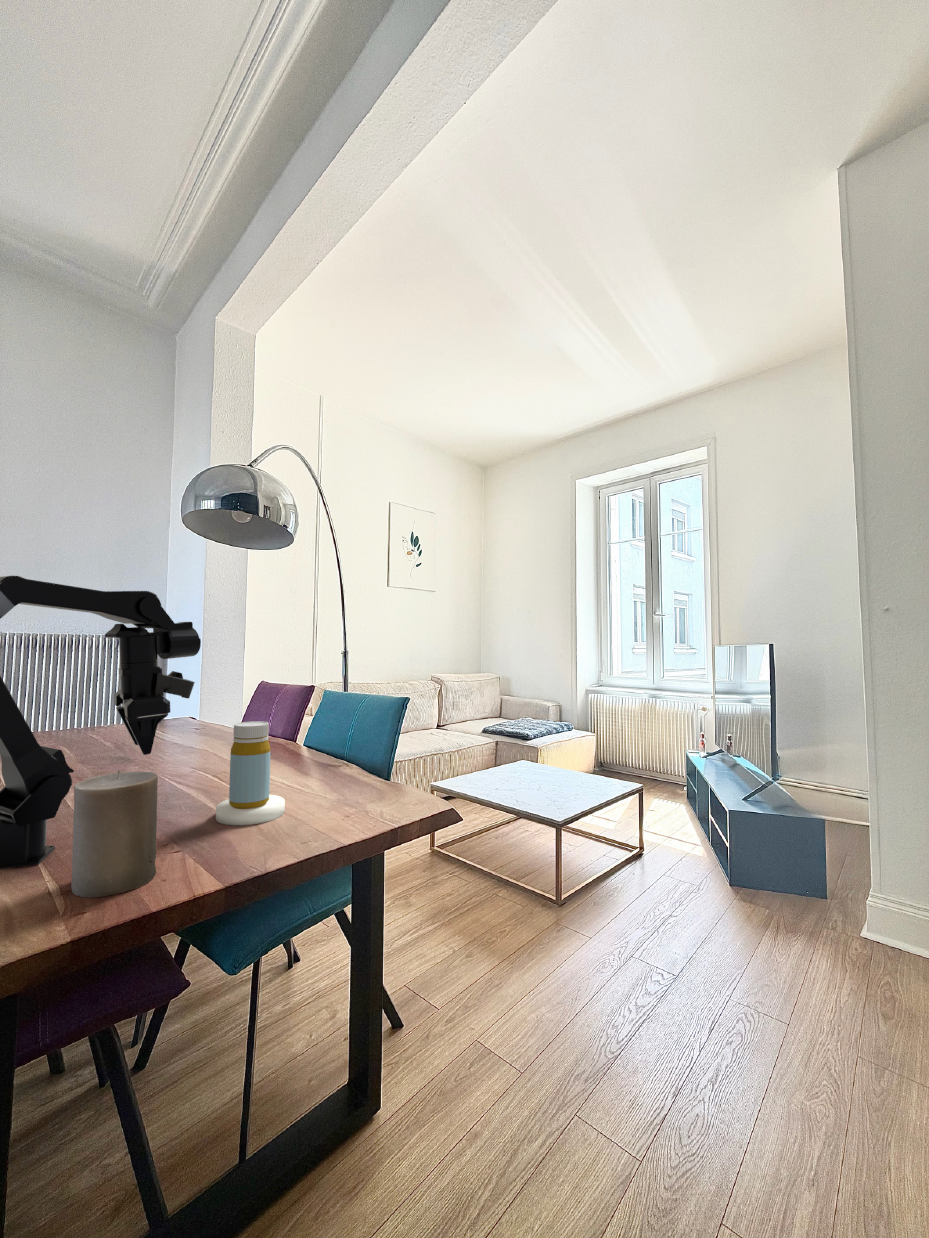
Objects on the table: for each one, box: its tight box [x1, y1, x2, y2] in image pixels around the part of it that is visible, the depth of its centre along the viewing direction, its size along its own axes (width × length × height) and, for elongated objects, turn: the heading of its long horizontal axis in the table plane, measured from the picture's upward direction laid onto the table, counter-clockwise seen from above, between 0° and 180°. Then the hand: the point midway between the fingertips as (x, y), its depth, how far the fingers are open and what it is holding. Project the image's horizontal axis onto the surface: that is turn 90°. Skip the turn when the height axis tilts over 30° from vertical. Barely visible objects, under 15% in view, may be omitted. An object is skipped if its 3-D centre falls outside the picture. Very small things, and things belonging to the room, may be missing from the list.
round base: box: [215, 794, 286, 826], centre depth 99 cm, size 12×12×2 cm
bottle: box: [228, 720, 272, 809], centre depth 99 cm, size 7×7×15 cm
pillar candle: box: [70, 769, 159, 899], centre depth 72 cm, size 10×10×15 cm
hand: (142, 749), depth 94 cm, fingers open, 9 cm apart
